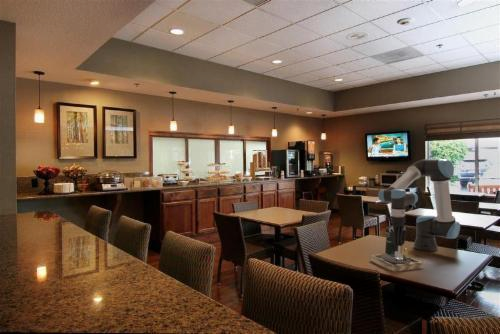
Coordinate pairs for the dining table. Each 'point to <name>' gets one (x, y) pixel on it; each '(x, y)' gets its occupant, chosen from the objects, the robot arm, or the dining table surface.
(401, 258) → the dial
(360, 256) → the dining table surface
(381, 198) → the robot arm
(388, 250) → the coffee jar
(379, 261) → the square tray
